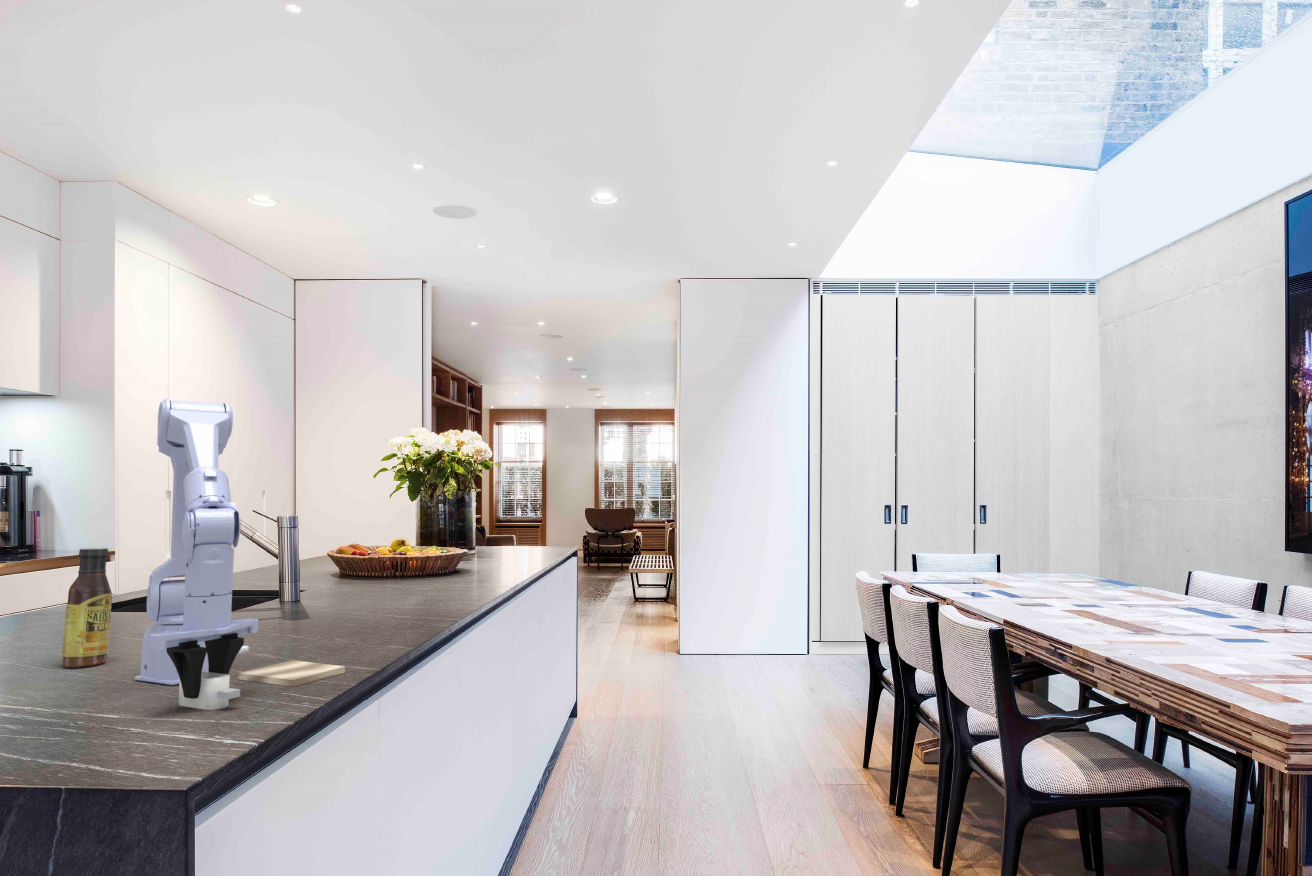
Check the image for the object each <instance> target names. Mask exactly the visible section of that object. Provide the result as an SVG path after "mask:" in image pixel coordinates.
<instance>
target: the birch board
mask: <svg viewBox="0 0 1312 876" xmlns="http://www.w3.org/2000/svg"><path fill="white" fill-rule="evenodd" d="M344 673H346V666H344V665H337V664H330V663H329V664H328V663H319V662H310V661H302V660H294V659H293V660H292V659H291V660H287V661H283V662H279V663H276V664H275V663H274V664H270V665H267V666H262V667H258V668H253V669H249V670H245V671H240V672H238V673H237V680H241V681H248V682H254V683H263V684H270V685H277V686H285V687H291V688H292V687H293V688H294V687H297V686H300V685H304V684H308V683H311V682H315V681H319V680H324V679H326V678H330V677H333V676H337V675H342V674H344Z"/></svg>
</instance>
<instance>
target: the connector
mask: <svg viewBox="0 0 1312 876" xmlns="http://www.w3.org/2000/svg"><path fill="white" fill-rule="evenodd" d="M230 677H231V675H230V674H228V675H227V674H220V673H212V672H204V671H202V672H201V686H200V692H199V697H198V698H195V699H191V698H185V697H184V694H183V689H182V685H181V681H180V683H179V684H178V685H179V686H178V706H179V707H184V708H185V707H186V708H192V709H198V710H205V711H214V710H215V711H216V710H220V709H224V708H227V707H229V704H230V703H229V700H233V699H234V698H238V697H241V689H240V688H232V687H230V680H231V679H230Z"/></svg>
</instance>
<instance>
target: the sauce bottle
mask: <svg viewBox="0 0 1312 876" xmlns="http://www.w3.org/2000/svg"><path fill="white" fill-rule="evenodd" d="M108 556H109V548H106V547H98V548H97V547H92V548H91V547H89V548H79V551H78V557H79V568H78V569H79V570H78V571H77V572H78V575H77V577H76V579H75V580H74V581H73V582H72V583H71V585H70V587H69V589H68V593H67V594H68V596H67V603H66V609H65V621H64V630H63V641H62V652H61V656H62V666H63V667H64V668H84V667H91V666H98V665H101V664H104V663H105V662H106V660H107V655H108V653H109V652H108V651H109V639H110V628H111V615H112V603H113V592H112V589H111V586H110V583H109V580H108V577H107V569H106V567H107V559H108Z"/></svg>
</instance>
